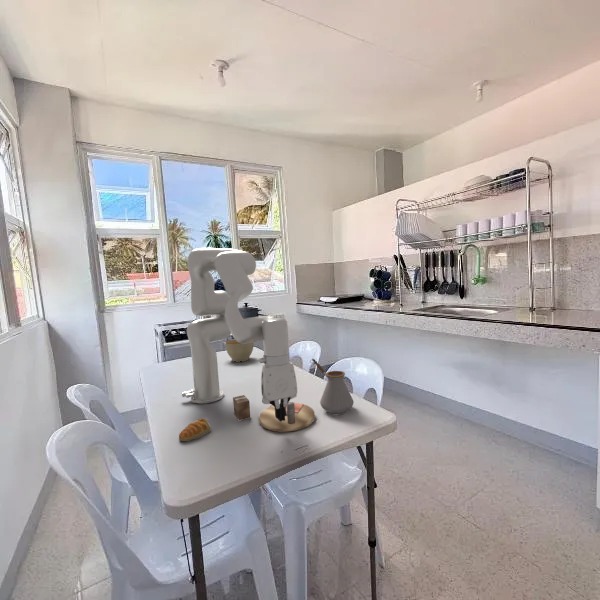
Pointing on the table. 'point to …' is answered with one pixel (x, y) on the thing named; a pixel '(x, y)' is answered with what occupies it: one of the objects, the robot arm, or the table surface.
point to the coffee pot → (335, 393)
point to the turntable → (288, 418)
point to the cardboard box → (241, 407)
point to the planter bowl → (239, 350)
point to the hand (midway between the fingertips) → (280, 419)
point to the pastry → (195, 430)
